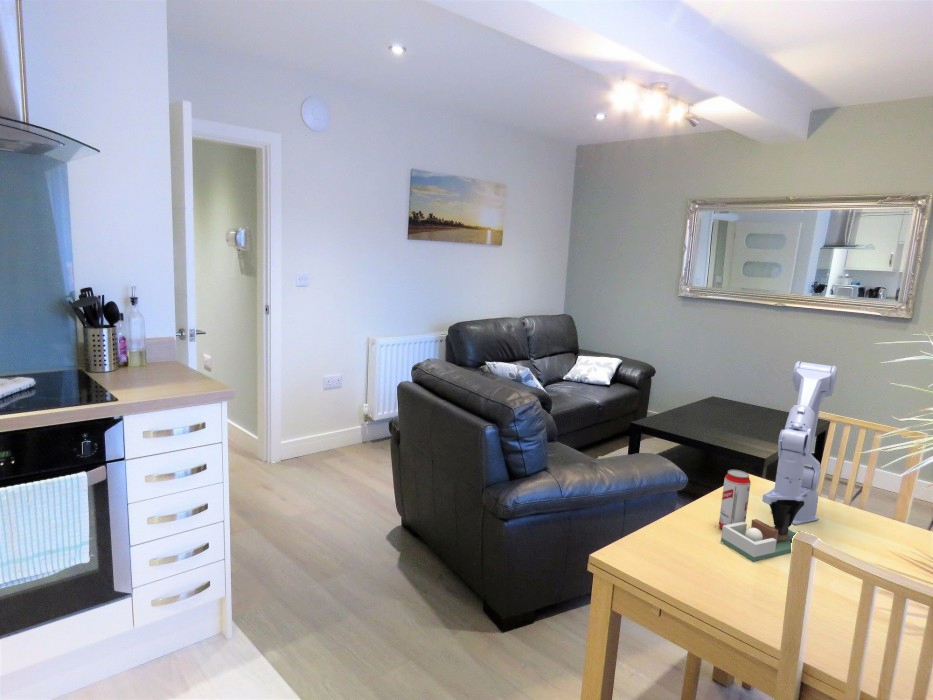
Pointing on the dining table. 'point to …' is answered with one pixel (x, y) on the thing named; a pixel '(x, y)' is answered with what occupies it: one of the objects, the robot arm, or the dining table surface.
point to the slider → (772, 529)
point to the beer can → (734, 498)
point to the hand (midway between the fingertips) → (782, 525)
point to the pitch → (754, 543)
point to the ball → (754, 534)
